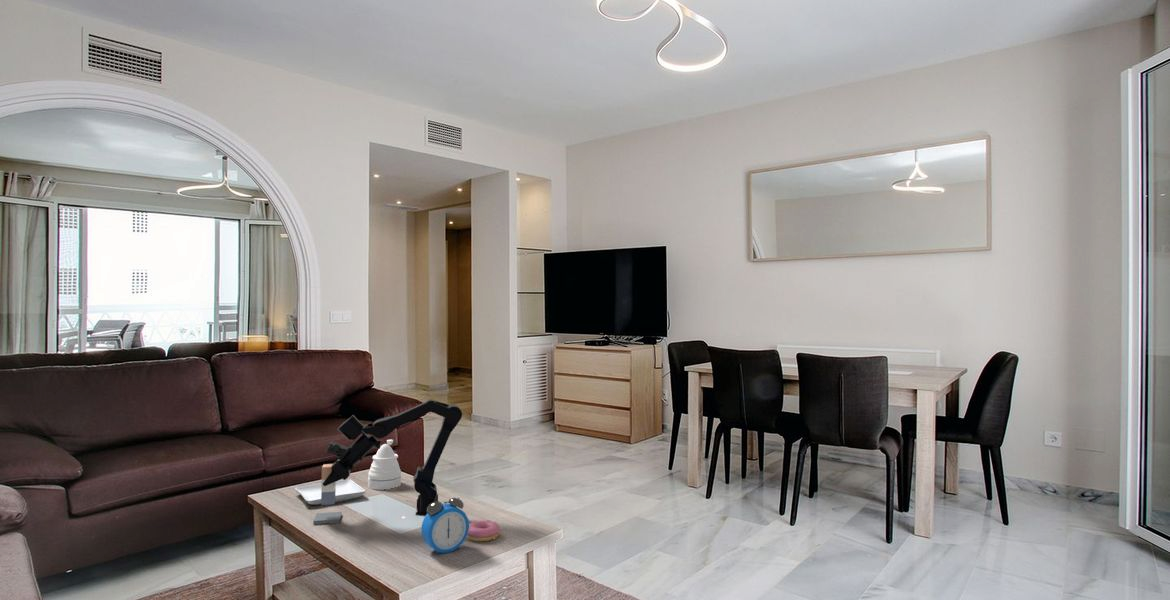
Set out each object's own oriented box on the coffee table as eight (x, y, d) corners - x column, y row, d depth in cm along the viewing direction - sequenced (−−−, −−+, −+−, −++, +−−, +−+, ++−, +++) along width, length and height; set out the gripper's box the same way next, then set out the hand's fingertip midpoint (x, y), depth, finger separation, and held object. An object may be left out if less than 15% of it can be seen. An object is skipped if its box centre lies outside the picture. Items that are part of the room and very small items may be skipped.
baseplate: (341, 515, 217) (341, 511, 217) (339, 522, 209) (339, 519, 209) (316, 516, 215) (316, 513, 215) (313, 524, 207) (313, 521, 207)
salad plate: (293, 495, 240) (293, 486, 240) (350, 486, 252) (350, 478, 252) (306, 510, 223) (307, 500, 223) (367, 499, 235) (367, 490, 235)
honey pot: (393, 479, 263) (394, 436, 263) (406, 486, 253) (407, 441, 253) (363, 484, 254) (363, 440, 255) (375, 491, 245) (376, 445, 245)
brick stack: (335, 500, 215) (335, 463, 215) (333, 504, 211) (334, 466, 211) (322, 501, 213) (323, 464, 214) (321, 504, 210) (321, 467, 210)
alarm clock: (428, 558, 181) (429, 506, 181) (419, 551, 186) (420, 501, 186) (469, 548, 189) (470, 498, 189) (460, 542, 194) (461, 493, 194)
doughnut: (490, 545, 192) (490, 532, 192) (458, 540, 195) (458, 527, 195) (505, 533, 202) (505, 520, 202) (475, 529, 206) (475, 516, 206)
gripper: (344, 428, 222) (310, 461, 219) (338, 439, 204) (301, 474, 201) (367, 449, 224) (334, 482, 221) (363, 461, 206) (327, 497, 203)
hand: (324, 483), depth 212 cm, fingers closed on brick stack, 4 cm apart
